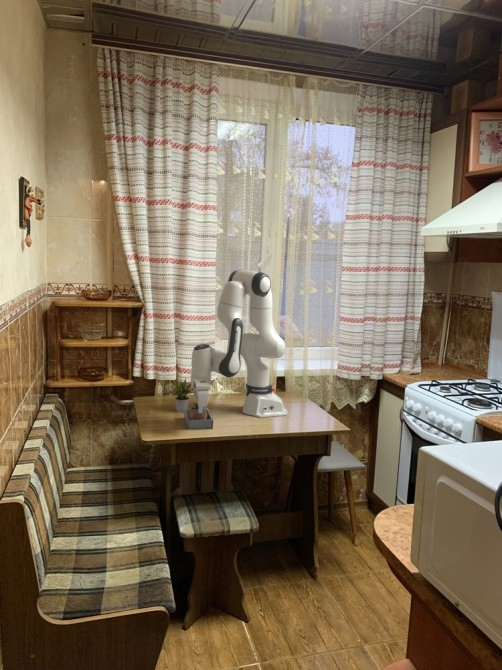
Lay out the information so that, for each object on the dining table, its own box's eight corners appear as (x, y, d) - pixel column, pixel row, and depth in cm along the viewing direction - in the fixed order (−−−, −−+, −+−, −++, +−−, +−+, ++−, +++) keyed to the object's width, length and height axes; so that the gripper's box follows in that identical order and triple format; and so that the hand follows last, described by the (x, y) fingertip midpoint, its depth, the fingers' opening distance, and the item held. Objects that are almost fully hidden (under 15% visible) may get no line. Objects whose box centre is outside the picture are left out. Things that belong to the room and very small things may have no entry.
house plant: (200, 415, 251) (201, 382, 249) (171, 416, 247) (172, 383, 244) (194, 406, 265) (195, 374, 262) (167, 407, 260) (167, 375, 258)
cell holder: (207, 417, 248) (208, 408, 248) (212, 428, 233) (213, 419, 233) (184, 418, 246) (184, 409, 245) (187, 429, 231) (187, 420, 230)
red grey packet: (189, 426, 233) (190, 404, 231) (188, 423, 236) (188, 402, 234) (207, 425, 235) (208, 403, 234) (205, 422, 238) (206, 401, 237)
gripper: (191, 375, 242) (190, 404, 244) (196, 387, 222) (195, 418, 224) (204, 375, 243) (203, 403, 245) (211, 386, 223) (209, 418, 226)
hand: (199, 410), depth 235 cm, fingers closed on red grey packet, 3 cm apart
